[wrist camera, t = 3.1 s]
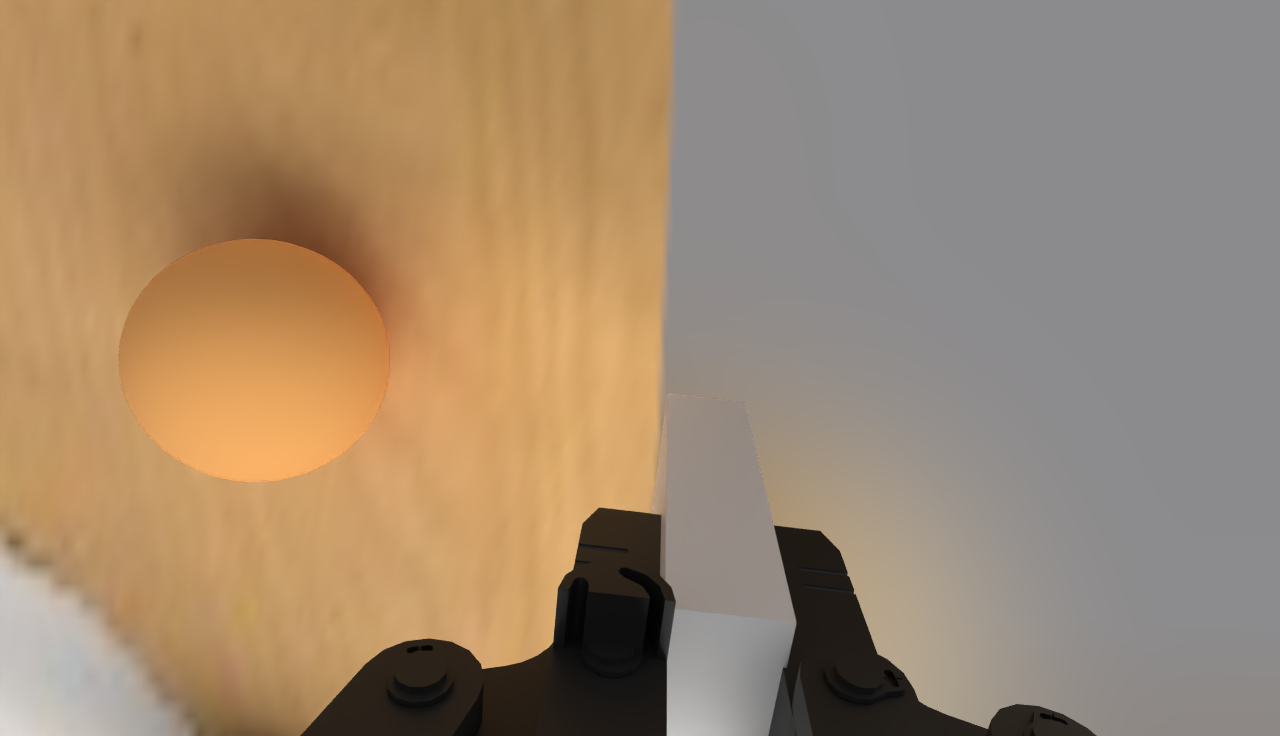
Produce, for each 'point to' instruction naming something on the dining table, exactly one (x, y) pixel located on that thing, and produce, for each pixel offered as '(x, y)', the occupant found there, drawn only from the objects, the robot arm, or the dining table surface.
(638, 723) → the robot arm
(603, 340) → the dining table surface
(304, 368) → the ball
